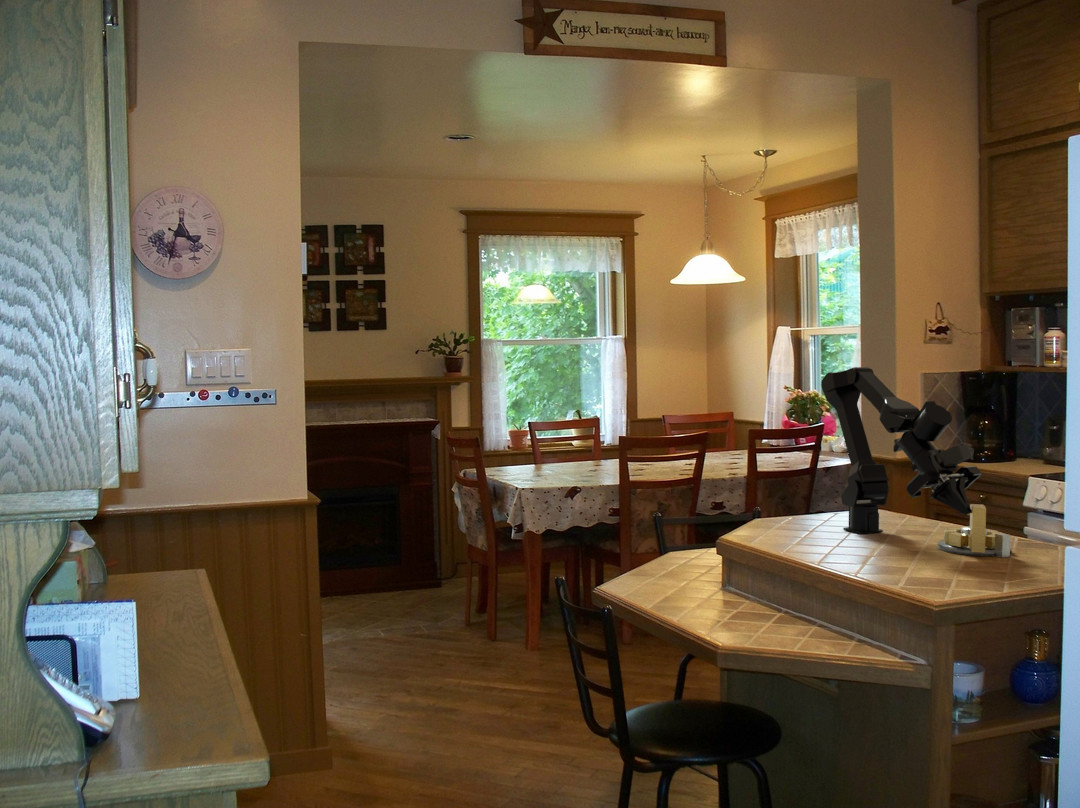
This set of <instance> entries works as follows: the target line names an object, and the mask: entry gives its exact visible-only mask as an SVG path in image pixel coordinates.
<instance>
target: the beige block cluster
mask: <svg viewBox="0 0 1080 808" xmlns="http://www.w3.org/2000/svg"><path fill="white" fill-rule="evenodd" d="M969 506H970V508H971V513H970V514H969V526H970V535H967V534H962V533H961V527H948V528H945V529H944V531H943V540H944V542H945V543H949V545H953V546H958V547H965V546H968V548H970V550H971V552H981V553H985V548H990V549H994V548H995V534H999V533H1003V532H1000V531H999V530H996V529H995V530H994V529H989V528H987V527H986V523H987V508H986V506H985V504H977V503H975V504H974V503H969ZM986 529H987V535H985V533H986Z"/></svg>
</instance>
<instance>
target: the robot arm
mask: <svg viewBox="0 0 1080 808" xmlns="http://www.w3.org/2000/svg"><path fill="white" fill-rule="evenodd" d="M820 385H821V389H822V392H823V394H824V398H825V400H826V402H827V403H828V404H830V406H832V407H833V408H834V409H835V411H836V414H837V417H838V422H839V426H840V429H841V432H842V437H843V439H844V444H845V446H846V450H847V454H848V457H849V461H850V469H849V473H848V475H847V483H848V484H847V486H846V487H845V489H844V490H843V491H842V493H841V495H840V498H841V503H842V505H844V506H847V507H848V526H847V527H843V529H842V530H843V531H848V532H851V533H857V534H860V535H861V534H862V535H867V534H877V533H876V532H878V533H884V530H883V529H880V512H879V506H886V504H887V499H888V495H889V491H890V484H889V481H890V479H889V477H888V475H887V472H886V467H885V466H884V464H883V463H876V462H875V461H874V459H873V455H872V452H871V449H870V443H869V441H868V437H867V433H866V431H865V427H864V424H863V421H862V416H861V413H860V409H859V406H858V403H859V400H860V397H861V394H862V395H863V396H864V397H865V398H866V399H867V401H869V402H870V403H871V405H872V406H873V407H874V408H875V409H876V410H877V411H878V413H879V421H880V423H881V424H882V426H883V428H884V429H885V430H886V431H887V432H888V433H890V434H902V435H901V436H900V437H898V438H895V439H894V440H893V442H894V445H893V449H892V450H893V452H894V453H897V452H901V451H903V453H904V455H906V457H907V458H908V460H909V461H910V462H911V463H912V464H913V465H912V466H911V467H910V469H911V470H912V471H913V472H917V474H916V475H915V476H914V477H912V478H911V480H909V481H908V482H907V484H906V492H907V493H908V496H909V497H910V498H911V499H915V498H920V497H921V495H922V491H921V490H922V489H927V488H931V491H932V493H931V494H930V495H929V498H930V499H934V500H936V501H937V502H939V503H941V504H944V505H946V506H947V507H950V508H951V509H954V511H957V512H959V513H961V514H963V515H965V516H970V513H971V508H970V503H969V499H968V498H967V495H966V490H967V489H968V488H969V487H970V486H971V485H973V483H974V482H975V481H977V480H978V479H979V478H980V477H981V476H982V472H981V471H980V469H979V468H978V467H977V466H974V465H968V466H962V467H961V466H960V468H959V464H962V463H965V462H967V461H968V462H969V461H973V460H974V453H975V449H974V448H973V447H971V445H970V444H969V443H968V442H961V443H960V444H956V445H955V446H952V447H949V448H947V449H943V448H940V449H938V448H936V447H935V445H934V443H932V442H936V441H937V440H938V439H939V438H940V436H941V435H942V434H943V433H944V432H945V430H946V429H947V428H948V426H949V425H950V424H951V423H952V421H953V417H952V413H950V411H948V410H947V409H946V408H944V407H942V406H941V405H938V404H937V402H936V400H935V401H934V400H926V401H925V402H924V403H923V405H922V407H921V409H919V408H918V407H917V406H915V405H914V404H913V403H911V402H909V401H906V400H903V399H901V398H899V397H897V396H896V395H895V394H894V393H893V392H892V390H890V389H889V388H888V387H887V386H886V385H885V383H883V382H882V381H881V379H880V378H879V377H877V376H876V375H875V373H874V371H873V369H872V368H871V367H868V366H865V367H864V366H863V367H862V366H855V367H854V366H853V367H851V368H847V369H846V370H841V371H838V372H833V371H832V372H831V371H830V372H827V373H826V374H825V375H824V377H823V378H822V379H821V384H820ZM958 468H959V469H958ZM956 470H957V471H956ZM955 471H956V472H955Z"/></svg>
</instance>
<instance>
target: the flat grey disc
mask: <svg viewBox="0 0 1080 808" xmlns="http://www.w3.org/2000/svg"><path fill="white" fill-rule="evenodd" d="M960 528H961V533H962V534H967V535H970V525H967V526H961V527H960ZM987 529H988V528H986V533H985V535H987ZM937 549H938V550H940V551H943V552H946V553H951V554H955V555H960V556H961V555H963V556H969V557H970V556H972V557H999V558H1003V559H1004V558H1009V557H1010V555H1011V534H1007V533H1003V532H1002V533H999V534H995V548H994V549H990V548H985V553H981V552H971V550H970V548H968V546H965V547H958V546H953V545H949V543H945V542H944V539H940V540H939V541H937Z"/></svg>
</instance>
